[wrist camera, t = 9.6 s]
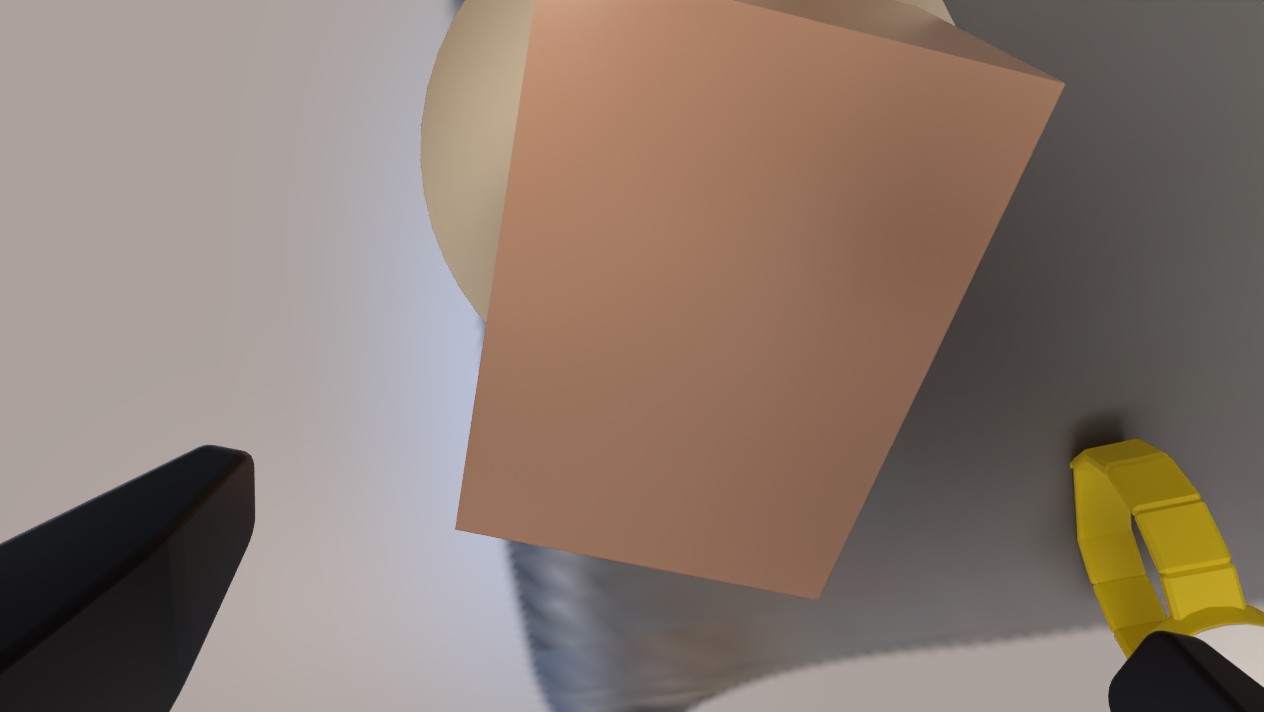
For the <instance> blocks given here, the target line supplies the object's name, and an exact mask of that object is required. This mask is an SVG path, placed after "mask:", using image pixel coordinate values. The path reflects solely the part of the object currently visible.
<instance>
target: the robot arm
mask: <svg viewBox="0 0 1264 712" xmlns="http://www.w3.org/2000/svg"><path fill="white" fill-rule="evenodd" d="M254 480H255V479H254V462H253V459H252V456H251V455H250V454H248V453H247V452H245V451H241V450H236V449H231V448H226V447H221V446H216V445H204V446H201V447H198V448H196V449H194V450H192V451H190V452H188V453H186V454H183V455H181V456H180V457H177V458H175V459H173V460H171V461H169V462H167V463H165V464H163V465H161V466H159V467H157V468H155V469H153V470H151V471H149V472H146V473H144V474H143V475H140V476H138V477H136V478H134V479H132V480H130V481H128V482H126V483H124V484H122V485H120V486H118V487H116V488H114V489H112V490H110V491H108V492H106V493H103V494H101V495H99V496H97V497H95V498H93V499H91V500H89V501H87V502H85V503H83V504H81V505H79V506H77V507H75V508H73V509H71V510H68V511H66V512H64V513H62V514H60V515H58V516H56V517H54V518H52V519H50V520H48V521H46V522H44V523H42V524H40V525H38V526H36V527H33V528H31V529H29V530H27V531H25V532H23V533H21V534H19V535H17V536H15V537H13V538H11V539H9V540H7V541H5V542H3V543H1V544H0V712H170V710H171V708H172V706H173V704H174V703H175V701H176V699H177V697H178V696H179V694H180V692H181V690H182V688H183V686H184V684H185V682H186V680H187V678H188V675H189V673H190V671H191V669H192V667H193V665H194V663H195V661H196V659H197V656H198V654H199V652H200V650H201V648H202V645H203V643H204V641H205V639H206V637H207V634H208V632H209V630H210V628H211V626H212V623H213V621H214V619H215V617H216V615H217V612H218V610H219V608H220V606H221V604H222V601H223V599H224V597H225V595H226V593H227V591H228V588H229V586H230V584H231V582H232V580H233V577H234V575H235V573H236V571H237V568H238V566H239V564H240V562H241V560H242V557H243V555H244V553H245V551H246V548H247V547H248V544H249V542H250V539H251V536H252V533H253V528H254V523H255V483H254V482H255V481H254ZM1108 698H1109V707H1110V711H1111V712H1264V687H1263V686H1261V685H1260V684H1259V683H1258V682H1256V681H1255V680H1254V679H1252V678H1251V677H1250V676H1248V675H1247V674H1246V673H1245V672H1243V671H1242V670H1241V669H1239V668H1238V667H1237V666H1236V665H1234V664H1233V663H1232V662H1230V661H1229V660H1228V659H1227V658H1225V657H1224V656H1223V655H1221V654H1220V653H1219V652H1217V651H1216V650H1215V649H1214V648H1212V647H1211V646H1210V645H1208V644H1207V643H1206V642H1204V641H1203V640H1201V639H1199V638H1196V637H1193V636H1190V635H1184V634H1179V633H1174V632H1169V631H1162V630H1161V631H1155V632H1152V633H1150V634H1149V635H1147V636H1146V637H1145V638H1144V639H1143V641H1142V642H1141V643H1140V644H1139V646H1138V647H1137V648H1136V650H1135V651H1134V652H1133V653H1132V655H1131V656H1130V657H1129V658H1128V660H1127V661H1126V662H1125V664H1124V665H1123V666H1122V667H1121V669H1120V670H1119V671H1118V673H1117V674H1116V675H1115V676H1114V678H1113V679H1112V681H1111V684H1110V687H1109V694H1108Z"/></svg>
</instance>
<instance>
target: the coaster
mask: <svg viewBox="0 0 1264 712" xmlns="http://www.w3.org/2000/svg"><path fill="white" fill-rule="evenodd" d="M895 1H899V2H903V3H907V4H911V5H915V6H917V7H919V8H921V9H923V10H925V11H927V12H929V13H931V14H933V15H935V16H936V17H938V18H940V19H942V20H944V21H946V22H948V23H950V24H952V25H954V26H955V24H954V22H953V20H952V18H951V16H950V14H949V12H948V10H947V8H946V6H945V4H944V2H943V0H895ZM534 3H535V0H465V1H464V3H463V5H462V6H461V8H460V9H459V11H458V12H457V14H456V15H455V17H454V19H453V21H452V23H451V26H450V28H449V30H448V32H447V34H446V36H445V39H444V41H443V43H442V45H441V47H440V49H439V52H438V55H437V58H436V62H435V64H434V68H433V71H432V74H431V78H430V81H429V84H428V88H427V94H426V99H425V106H424V112H423V118H422V124H421V125H422V126H421V168H422V178H423V186H424V195H425V199H426V204H427V208H428V212H429V216H430V220H431V224H432V228H433V230H434V233H435V236H436V238H437V241H438V244H439V246H440V249H441V251H442V254H443V257H444V259H445V261H446V263H447V265H448V266H449V268H450V271H451V272H452V274H453V276H454V278H455V280H456V282H457V283H458V285H459V287H460V289H461V290H462V292H463V293H464V294H465V296H466V297H467V299H468V300H469V302H470V303H471V304H472V306H473V307H474V309H475V310H476V311H477V313H478V314H479V315H480V316H481V318H482V319H483V320H484V321H485V322H487V315H488V309H489V302H490V295H491V289H492V282H493V275H494V269H495V262H496V255H497V249H498V242H499V236H500V229H501V222H502V216H503V209H504V202H505V196H506V189H507V182H508V176H509V169H510V163H511V156H512V149H513V143H514V136H515V129H516V123H517V116H518V109H519V103H520V96H521V90H522V83H523V76H524V70H525V63H526V56H527V50H528V43H529V36H530V30H531V23H532V17H533V10H534Z"/></svg>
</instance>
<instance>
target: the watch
mask: <svg viewBox="0 0 1264 712" xmlns="http://www.w3.org/2000/svg"><path fill="white" fill-rule="evenodd" d="M1070 467H1071V468H1073V475H1074V491H1075V507H1076V523H1077V541H1078V544H1079V548H1080V551H1081V554H1082V557H1083V561H1084V564H1085V567H1086V570H1087V573H1088V577H1089V580H1090V582H1091V583H1092V584H1094V586H1093V591H1094V593H1095V595H1096V597H1097V600H1098V602H1099V604H1100V607H1101V609H1102V611H1103V613H1104V616H1105V618H1106V620H1107V623H1108V625H1109V627H1110V629H1111V632H1113V633H1114V637H1115V639H1116V641H1117V642H1118V644H1119V646H1120V647H1121V649H1122V650H1123V652H1124V654H1125V655H1126V657H1127V659H1128V658H1129V657H1130V656H1131V655H1132V653H1133V652H1134V651H1135V650H1136V648H1137V647H1138V646H1139V644H1140V643H1141V642H1142V641H1143V639H1144V638H1145V637H1146V636H1147V635H1149V634H1150V633H1152V632H1155V631H1161V630H1162V631H1169V632H1174V633H1179V634H1184V635H1190V636H1193V637H1196V638H1199V639H1201V640H1203V641H1204V642H1206V643H1207V644H1208V645H1210V646H1211V647H1212V648H1214V649H1215V650H1216V651H1217V652H1219V653H1220V654H1221V655H1223V656H1224V657H1225V658H1227V659H1228V660H1229V661H1230V662H1232V663H1233V664H1234V665H1236V666H1237V667H1238V668H1239V669H1241V670H1242V671H1243V672H1245V673H1246V674H1247V675H1248V676H1250V677H1251V678H1252V679H1254V680H1255V681H1256V682H1258V683H1259V684H1260V685H1261V686H1263V687H1264V612H1262V611H1260V610H1258V609H1256V608H1254V607H1252V606H1250V605H1246V604H1245V601H1244V597H1243V593H1242V590H1241V586H1240V582H1239V579H1238V575H1237V572H1236V568H1235V566H1234V565H1233V564H1231V563H1229V562H1230V560H1231V558H1232V557H1231V555H1230V553H1229V551H1228V549H1227V547H1226V545H1225V543H1224V540H1223V538H1222V536H1221V534H1220V532H1219V530H1218V528H1217V526H1216V524H1215V522H1214V520H1213V518H1212V516H1211V514H1210V512H1209V510H1208V508H1207V505H1206V503H1205V502H1203V501H1201V495H1200V494H1199V493H1198V491H1197V490H1196V489H1195V487H1194V486H1193V485H1192V484H1191V482H1190V481H1189V480H1188V478H1187V477H1186V476H1185V474H1184V473H1183V472H1182V471H1181V469H1180V468H1179V467H1178V465H1177V464H1176V463H1175V462H1174V460H1173V459H1172V458H1170V457H1169V456H1168V454H1166V453H1164V452H1162V451H1161V450H1159V449H1157V448H1155V447H1154V446H1152V445H1150V444H1148V443H1146V442H1145V441H1143V440H1141V439H1132V440H1128V441H1123V442H1118V443H1113V444H1108V445H1104V446H1099V447H1094V448H1089V449H1085V450H1084V451H1083V452H1081V453H1080V454H1079V455H1077V456H1076V457H1075V458H1074V459H1073V461H1072V462H1070ZM1131 513H1132V515H1134V516H1135V521H1136V523H1137V525H1138V528H1139V530H1140V532H1141V534H1142V537H1143V539H1144V541H1145V544H1146V546H1147V548H1148V550H1149V553H1150V555H1151V557H1152V560H1153V562H1154V564H1155V566H1156V569H1157V571H1158V572H1159V573H1161V575H1160V580H1161V584H1162V588H1163V591H1164V595H1165V599H1166V602H1167V606H1168V610H1169V613H1170V617H1168V618H1167V616H1166V613H1165V611H1164V609H1163V607H1162V605H1161V603H1160V601H1159V599H1158V597H1157V595H1156V593H1155V591H1154V589H1153V587H1152V585H1151V583H1150V581H1149V579H1148V576H1146V571H1145V568H1144V565H1143V562H1142V559H1141V556H1140V553H1139V549H1138V546H1137V543H1136V540H1135V537H1134V534H1133V531H1132V529H1131Z"/></svg>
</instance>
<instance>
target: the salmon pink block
mask: <svg viewBox="0 0 1264 712" xmlns="http://www.w3.org/2000/svg"><path fill="white" fill-rule="evenodd" d="M1065 84H1066V83H1064V82H1062V81H1060V80H1058V79H1056V78H1054V77H1052V76H1050V75H1048V74H1047V73H1045V72H1043V71H1041V70H1039V69H1037V68H1035V67H1033V66H1031V65H1029V64H1027V63H1025V62H1023V61H1021V60H1019V59H1018V58H1016V57H1014V56H1012V55H1010V54H1008V53H1006V52H1004V51H1002V50H1000V49H998V48H996V47H994V46H992V45H991V44H989V43H987V42H985V41H983V40H981V39H979V38H977V37H975V36H973V35H971V34H969V33H967V32H965V31H964V30H962V29H960V28H958V27H956V26H954V25H952V24H950V23H948V22H946V21H944V20H942V19H940V18H938V17H936V16H935V15H933V14H931V13H929V12H927V11H925V10H923V9H921V8H919V7H917V6H915V5H911V4H907V3H903V2H899V1H895V0H535V3H534V10H533V17H532V23H531V30H530V36H529V43H528V50H527V56H526V63H525V70H524V76H523V83H522V90H521V96H520V103H519V109H518V116H517V123H516V129H515V136H514V143H513V149H512V156H511V163H510V169H509V176H508V182H507V189H506V196H505V202H504V209H503V216H502V222H501V229H500V236H499V242H498V249H497V255H496V262H495V269H494V275H493V282H492V289H491V295H490V302H489V309H488V315H487V322H486V328H485V335H484V342H483V348H482V355H481V362H480V368H479V376H478V382H477V388H476V395H475V402H474V408H473V415H472V422H471V429H470V435H469V441H468V448H467V455H466V461H465V468H464V474H463V481H462V488H461V495H460V502H459V508H458V514H457V522H456V528H455V529H456V530H461V531H466V532H471V533H476V534H482V535H486V536H491V537H496V538H502V539H507V540H512V541H517V542H522V543H527V544H532V545H537V546H543V547H548V548H553V549H558V550H563V551H568V552H573V553H578V554H584V555H589V556H594V557H599V558H604V559H609V560H614V561H619V562H625V563H630V564H635V565H640V566H645V567H650V568H655V569H660V570H666V571H671V572H676V573H681V574H686V575H691V576H696V577H701V578H707V579H712V580H717V581H722V582H727V583H732V584H737V585H742V586H748V587H753V588H758V589H763V590H768V591H773V592H778V593H783V594H789V595H794V596H799V597H804V598H809V599H814V600H818V598H819V596H820V594H821V592H822V590H823V588H824V586H825V584H826V582H827V580H828V578H829V576H830V573H831V571H832V569H833V567H834V565H835V563H836V561H837V559H838V557H839V555H840V553H841V551H842V548H843V546H844V544H845V542H846V540H847V538H848V536H849V534H850V532H851V530H852V528H853V526H854V523H855V521H856V519H857V517H858V515H859V513H860V511H861V509H862V507H863V505H864V503H865V501H866V498H867V496H868V494H869V492H870V490H871V488H872V486H873V484H874V482H875V480H876V478H877V476H878V473H879V471H880V469H881V467H882V465H883V463H884V461H885V459H886V457H887V455H888V453H889V451H890V448H891V446H892V444H893V442H894V440H895V438H896V436H897V434H898V432H899V430H900V428H901V426H902V423H903V421H904V419H905V417H906V415H907V413H908V411H909V409H910V407H911V405H912V403H913V401H914V398H915V396H916V394H917V392H918V390H919V388H920V386H921V384H922V382H923V380H924V378H925V376H926V373H927V371H928V369H929V367H930V365H931V363H932V361H933V359H934V357H935V355H936V353H937V351H938V348H939V346H940V344H941V342H942V340H943V338H944V336H945V334H946V332H947V330H948V328H949V326H950V323H951V321H952V319H953V317H954V315H955V313H956V311H957V309H958V307H959V305H960V303H961V301H962V298H963V296H964V294H965V292H966V290H967V288H968V286H969V284H970V282H971V280H972V278H973V276H974V273H975V271H976V269H977V267H978V265H979V263H980V261H981V259H982V257H983V255H984V253H985V251H986V248H987V246H988V244H989V242H990V240H991V238H992V236H993V234H994V232H995V230H996V228H997V226H998V223H999V221H1000V219H1001V217H1002V215H1003V213H1004V211H1005V209H1006V207H1007V205H1008V203H1009V200H1010V198H1011V196H1012V194H1013V192H1014V190H1015V188H1016V186H1017V184H1018V182H1019V180H1020V178H1021V175H1022V173H1023V171H1024V169H1025V167H1026V165H1027V163H1028V161H1029V159H1030V157H1031V155H1032V153H1033V150H1034V148H1035V146H1036V144H1037V142H1038V140H1039V138H1040V136H1041V134H1042V132H1043V130H1044V128H1045V125H1046V123H1047V121H1048V119H1049V117H1050V115H1051V113H1052V111H1053V109H1054V107H1055V105H1056V103H1057V100H1058V98H1059V96H1060V94H1061V92H1062V90H1063V88H1064V86H1065Z"/></svg>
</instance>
